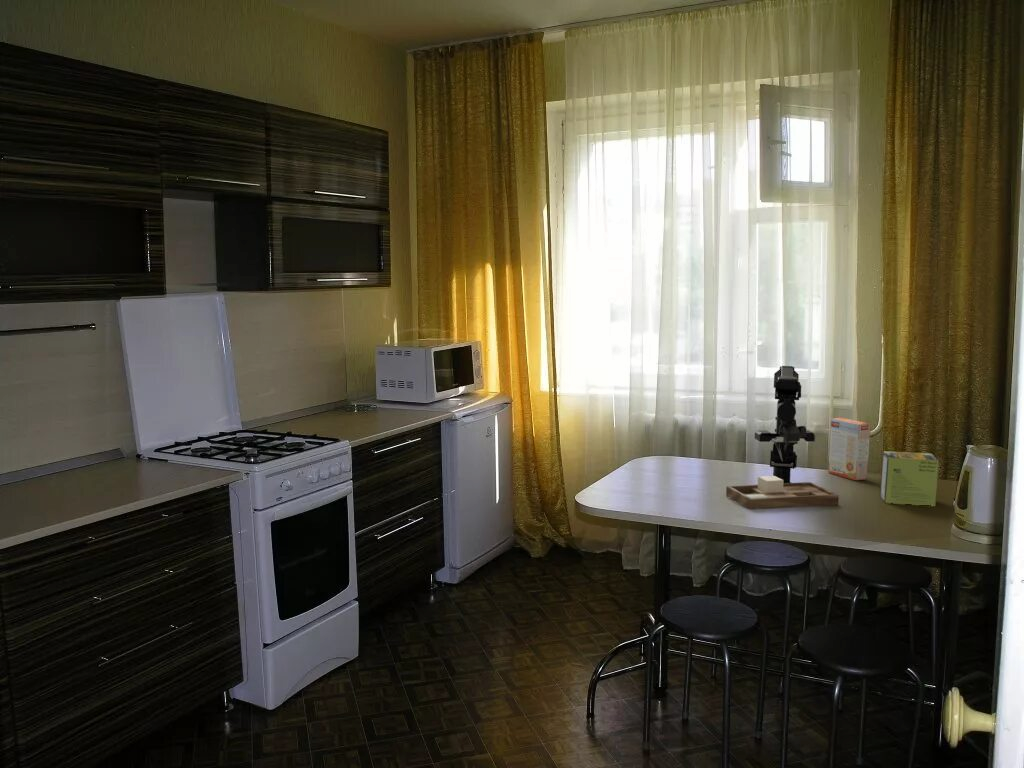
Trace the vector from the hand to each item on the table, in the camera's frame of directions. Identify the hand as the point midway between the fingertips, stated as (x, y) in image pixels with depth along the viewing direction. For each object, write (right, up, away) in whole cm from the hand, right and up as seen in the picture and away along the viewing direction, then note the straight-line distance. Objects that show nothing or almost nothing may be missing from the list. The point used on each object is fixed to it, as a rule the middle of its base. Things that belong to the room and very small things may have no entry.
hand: (783, 461), depth 288 cm
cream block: (-5, -10, -1) cm, 11 cm away
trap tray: (-2, -13, -4) cm, 13 cm away
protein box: (+40, -13, -3) cm, 42 cm away
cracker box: (+33, -8, +30) cm, 45 cm away
